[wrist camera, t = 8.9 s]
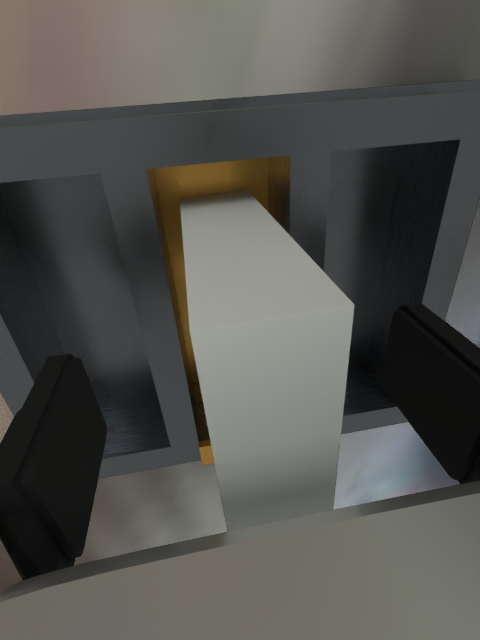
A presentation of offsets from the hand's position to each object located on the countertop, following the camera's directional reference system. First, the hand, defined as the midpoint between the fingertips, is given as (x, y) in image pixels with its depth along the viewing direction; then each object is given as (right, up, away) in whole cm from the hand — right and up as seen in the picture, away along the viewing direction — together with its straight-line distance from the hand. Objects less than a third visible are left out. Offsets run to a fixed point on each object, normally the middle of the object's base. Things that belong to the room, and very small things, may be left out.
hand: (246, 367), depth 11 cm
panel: (-1, +3, +4) cm, 5 cm away
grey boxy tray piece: (-1, +3, +5) cm, 6 cm away
